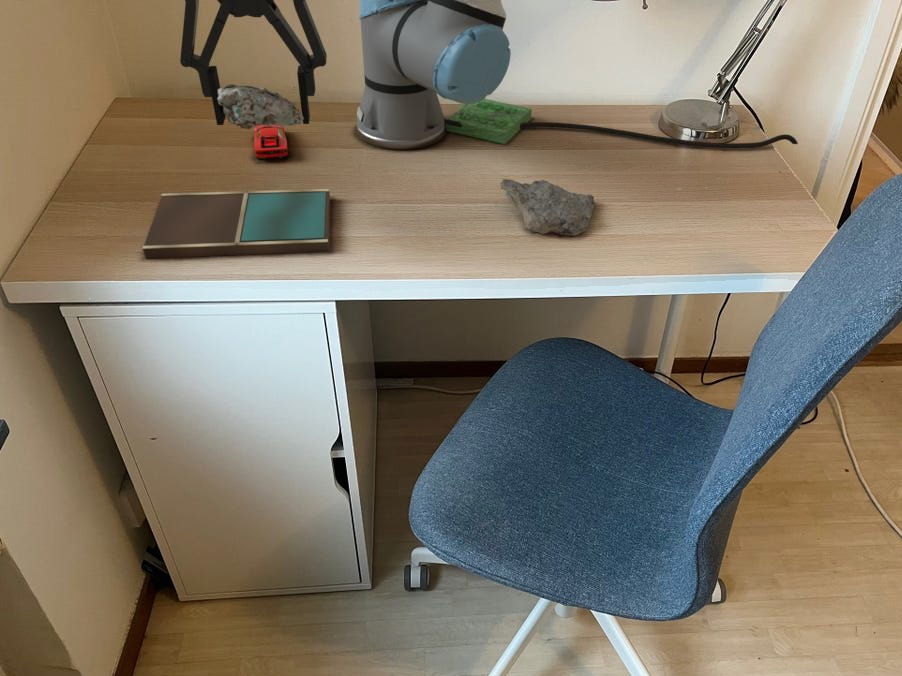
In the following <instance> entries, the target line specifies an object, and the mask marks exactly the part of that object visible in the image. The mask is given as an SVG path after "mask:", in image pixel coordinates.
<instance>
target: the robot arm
mask: <svg viewBox="0 0 902 676" xmlns="http://www.w3.org/2000/svg"><path fill="white" fill-rule="evenodd" d="M184 2H185V6H184V14H183V26H182V38H181V49H180V59H179V63H180V65H181V67H183V68H191V69H194V70H195V71H197V74H198V77H199V82H200V88H201V92H202V93H201V94H202V95H203V97H204V98H211V100H212V105H213V110H214V116H215V122H216V126H224V124H225V120H226V118H227V116H226V115H225V114H224V113H223V106H221V105H219V103H218V100H217V99H218V96H219V94H218V89H220V88H221V84H220V79H219V74H218V73H219V72H218V66H217V65H210V63H211V60H212V58H213V56H214V53H215V50H216V48H217V45H218V43H219V42H220V41H219V40H220V38H221V36H222V33H223V31H224V28H225V25H226V23H227V20H228V18H229V16H232V17H233V18H243V17H246V16H247V17H251V18H262V16H263V17H264V18H265V20H267V22H268V23H269V25H271V27H273V29H274V30H275V32H276V33H277V35H278V36H279V37H280V39H281V40H282V42H283V43H284V44H285V46H286V48H287V49H288V50H289V52H290V53H291V54H292V56H293V57H294V59H295V60H296V62H297V63H298V66H297V71H296V75H297V83H298V91H299V102H300V109H301V110H300V111H301V114H302V115H303V118H304V119H303V121H302V124H303V125H309V124H310V117H311V113H310V106H309V105H310V104H309V97H315V94H316V81H315V80H316V79H315V70H316V69H317V68H319V67H325V66H326V64H327V59H328V58H327V52H326V49H325V47H324V45H323V41H322V39H321V36H320V34H319V31H318V28H317V26H316V24H315V21H314V18H313V15H312V13H311V10H310V8H309V5H308V3H307V0H292V2H293V3H292V4H293V6H294V10H295V13H296V15H297V17H298V20H299V22H300V24H301V27H302V30H303V32H304V35H305V37H306V40H307V43H308V45H309V47H310V51H311V52H312V53H311V54H310V53H309V51H308V50H307V48H306V47H305V45H304V44H303V43H302V42H301V40H300V38H299V37H298V35H297V34H296V32H295V31H294V29H293V28H292V27H291V25H290V24H289V22H288V21H287V20H286V17H284V15H283V14H282V11H281V9H280V8H279V6H278V5H277V3H276V2H275V0H216V2H217V3H219V8H218V11H217V13H216V15H215V18H214V21H213V23H212V26H211V28H210V31H209V33H208V36H207V39H206V41H205V43H204V46H203V49H202V51H201V54H200V55H198V54H195V47H196V38H197V37H196V36H197V28H198V27H197V26H198V17H199V9H200V8H199V7H200V0H184ZM358 18H359V20H360V30H361V46H362V60H363V62H362V63H363V75H364V76H363V77H364V89H363V93H362V97H361V101H360V105H359V106H358V107H357V111H356V116H357V117H356V132H357V135H358V137H359V138H360V139H361V140H362V141H363V142H365V143H367V144H370V145H372V146H375V147H378V148H383V149H387V150H413V149H415V150H416V149H421V148H424V147H428V146H430V145H431V146H432V145H433V144H436V143H437V142H439V141H441V139H443V137H445V134H446V124H448V125H453V126H457V127H462V124H461V123H462V122H458V121H453V120H449V119H448V118H445V116H444V115H445V114H444V111H443V109H442V105H441V103H440V100H439V97H441V98H443V99H445V100H446V99H447V100H450V101H454V102H456V103H459V104H463V105H465V104H473V103H477V102H479V101H481V100H483V99H486V97H487V96H491V95H492V94H493V93H494V92H495V91H496V90H497V89H498V87H499V86H500V85H501V83H502V82H503V80H504V78H505V76H506V74H507V72H508V69H509V67H510V62H511V54H512V53H511V48H510V45H511V44H510V41H509V38H508V36H507V35H506V33H505V31H504V30H503V29H504V26H505V23H506V20H507V13H506V10H505V8H504V6H503V3H502V0H360V1H359V17H358ZM520 128H521V129H526V128H527V129H528V128H556V129H557V128H558V129H559V128H560V129H570V130H571V129H573V130H582V131H592V132H599V133H605V134H611V135H618V136H625V137H629V138H630V137H631V138H636V139H643V140H647V141H653V142H660V143H666V144H674V145H679V146H680V145H681V146H690V147H697V148H698V147H699V148H709V149H710V148H711V149H756V148H762V147H766V146H769V145H772V144H774V143H778V142H779V141H783V140H786V141H788V142H790V143H791V144H793V145H798V140H797V139H796V138H795V137H794V136H793V135H790V134H779V135H776V136H774V137H771V138H769V139H766V140H762V141H758V142H756V141H755V142H740V143H739V142H738V143H737V142H736V143H735V142H734V143H732V142H707V141H697V140H688V139H681V138H672V137H666V136H658V135H652V134H646V133H642V132H634V131H630V130H624V129H616V128H611V127H610V128H609V127H603V126H597V125H589V124H579V123H570V122H569V123H567V122H556V121H555V122H551V121H549V122H548V121H532V122H530V121H528V122H527V123H521V124H520Z"/></svg>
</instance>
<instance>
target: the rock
mask: <svg viewBox="0 0 902 676" xmlns="http://www.w3.org/2000/svg"><path fill="white" fill-rule="evenodd" d="M499 184H500V188H501V189H502V190H504V191H505V193H504V196H505V198H507V200H508V202H510V203H511V204H512V205H513V206H514V207H515V208H516V209H517V210H519V212H520V213H521V215H522V217H523V223H524V226H525V227H526V228H527V230H529V231H530V232H534V233H539V234H542V235H544V234H547V233H557V234H559V235H565V236H573V237H574V236H577V235H579V234H581V233H584V232H585V231H587V230H588V228H589V227H590V222H591V219H592V214H593V211H594V209H595V207H596V204H595V200H594V199H595V197H594V196H593V195H592V194H590V193H589V194H583V193H576V192H571V191H569V190H565V189H564V188H563V187H560V186H559V185H558V184H557V185H556V184H553V183H551V182H549V181H548V180H545V179H542V180H534V181H532V183H521V182H518V181H515V180H513V179H507V178H502V180H501V182H500V183H499Z"/></svg>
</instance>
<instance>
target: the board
mask: <svg viewBox="0 0 902 676" xmlns="http://www.w3.org/2000/svg"><path fill="white" fill-rule="evenodd" d="M160 196H161V197H160V199H159V202H158V204H157V208H156V210H155V214H154V217H153V219H152V222H151V224H150V228H149V230H148V233H147V235H146V239H145V241H144V244H143V246H142V251H143V254H144V258H145V259H167V258H198V257H220V256H251V255H275V254H299V253H324V252H325V253H329V252H330V227H331V226H330V221H331V220H330V219H331V193H330V188H315V189H309V188H308V189H279V190H278V189H275V190H245V191H243V190H242V191H239V190H238V191H213V192H212V191H211V192H209V191H206V192H174V193H172V192H171V193H161V194H160Z"/></svg>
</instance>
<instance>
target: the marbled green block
mask: <svg viewBox="0 0 902 676" xmlns="http://www.w3.org/2000/svg"><path fill="white" fill-rule="evenodd" d="M447 119H449V120H453V121H458V122H462V123H461V124H462V127H457V126H453V125H448V124H445V132H450V133H454V134H459V135H463V136H467V137H472V138H476V139H481V140H485V141H490V142H493V143H498V144H502V145H506V144H507V143H508V142H509V141H510V140H511V139H512V138H513V137H515V135H516V134H517V133H519V131H521V129H522V128H520V124H521V123H529V122H530V121H531V119H532V108H531V107H525V106H522V105H516V104H513V103H507V102H502V101H497V100H494V99H493V100H492V99H487V98H485V99H483V100H481V101H479V102H477V103H473V104H463V106H461V107H460V108H459V109H458V110H456V111H455V112H453V114H451V115H450V116H449V117H447Z"/></svg>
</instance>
